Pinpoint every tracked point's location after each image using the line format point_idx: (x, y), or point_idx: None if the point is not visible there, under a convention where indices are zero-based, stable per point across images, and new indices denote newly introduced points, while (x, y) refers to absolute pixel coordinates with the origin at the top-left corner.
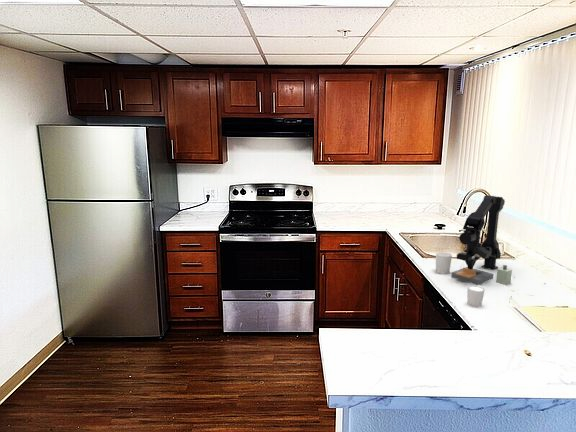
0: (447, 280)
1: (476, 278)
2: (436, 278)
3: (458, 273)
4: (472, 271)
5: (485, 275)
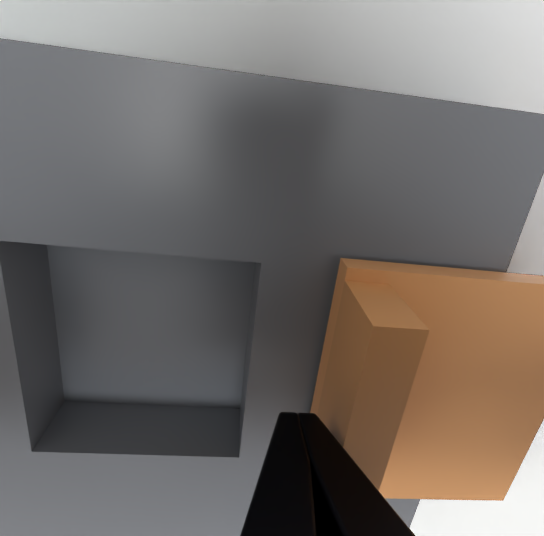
0: (531, 452)
1: (481, 185)
2: (528, 531)
3: (496, 477)
4: (403, 366)
5: (114, 124)
